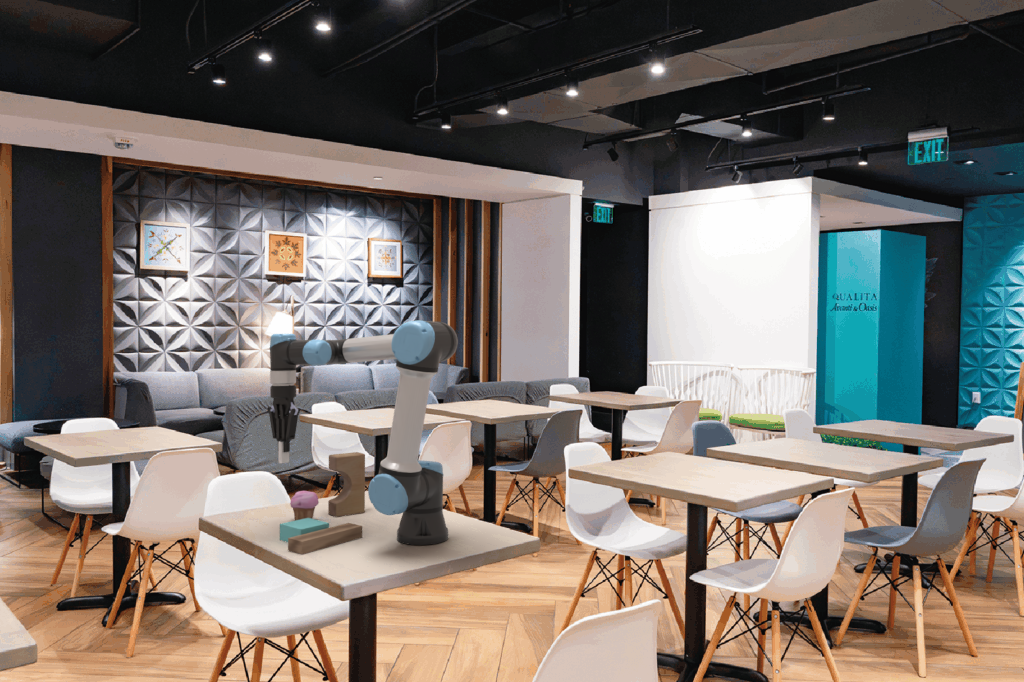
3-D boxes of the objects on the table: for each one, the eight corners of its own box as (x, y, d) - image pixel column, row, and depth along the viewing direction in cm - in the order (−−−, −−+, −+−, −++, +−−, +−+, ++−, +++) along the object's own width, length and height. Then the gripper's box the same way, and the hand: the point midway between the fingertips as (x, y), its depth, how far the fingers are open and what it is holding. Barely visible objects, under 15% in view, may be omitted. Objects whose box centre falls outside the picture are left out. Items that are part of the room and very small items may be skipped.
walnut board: (362, 537, 224) (362, 525, 224) (302, 554, 207) (302, 541, 207) (348, 534, 228) (348, 522, 228) (288, 550, 210) (288, 538, 210)
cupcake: (294, 518, 247) (294, 488, 247) (320, 518, 248) (321, 488, 248) (287, 525, 238) (287, 493, 238) (314, 525, 239) (315, 493, 239)
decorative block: (334, 517, 249) (335, 456, 249) (327, 514, 254) (328, 454, 254) (365, 512, 256) (365, 453, 256) (357, 509, 261) (358, 451, 260)
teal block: (329, 539, 223) (329, 522, 223) (300, 547, 215) (300, 529, 215) (308, 534, 229) (308, 517, 229) (279, 541, 221) (279, 523, 221)
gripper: (307, 384, 228) (307, 462, 228) (280, 383, 236) (280, 459, 236) (286, 385, 222) (287, 466, 222) (259, 384, 230) (260, 462, 230)
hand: (283, 462), depth 229 cm, fingers closed
